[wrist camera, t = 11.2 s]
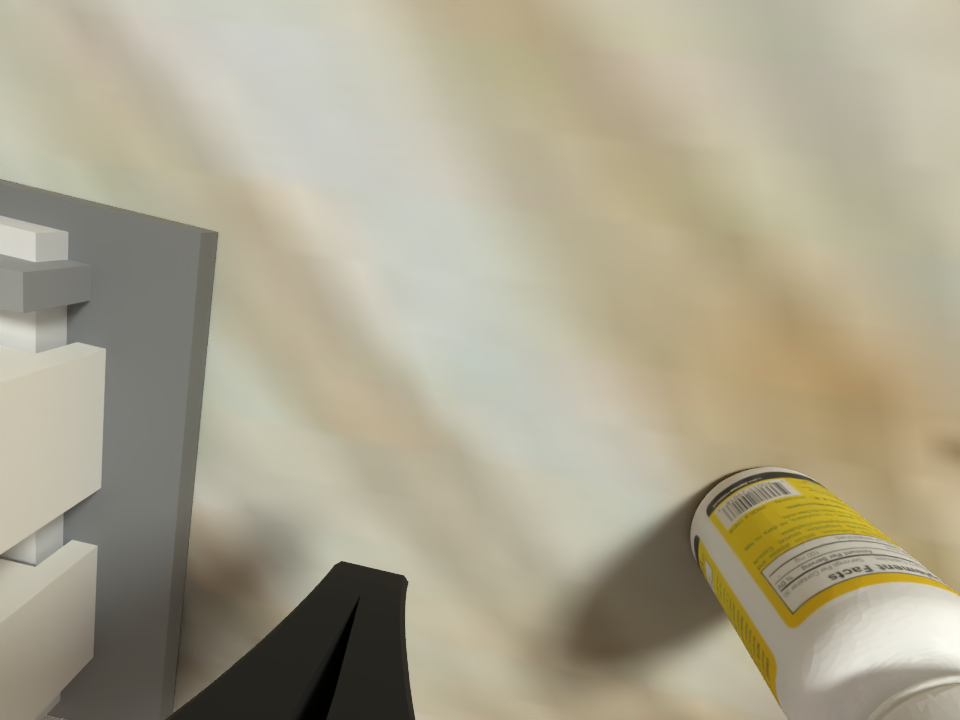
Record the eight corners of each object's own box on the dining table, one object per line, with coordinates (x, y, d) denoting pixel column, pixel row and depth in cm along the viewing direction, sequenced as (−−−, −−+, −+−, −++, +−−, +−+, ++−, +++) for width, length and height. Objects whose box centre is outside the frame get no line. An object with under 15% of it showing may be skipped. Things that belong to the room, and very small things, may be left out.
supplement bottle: (793, 603, 20) (1049, 940, 11) (664, 564, 20) (808, 872, 11) (861, 486, 19) (1224, 755, 9) (722, 443, 19) (950, 673, 9)
